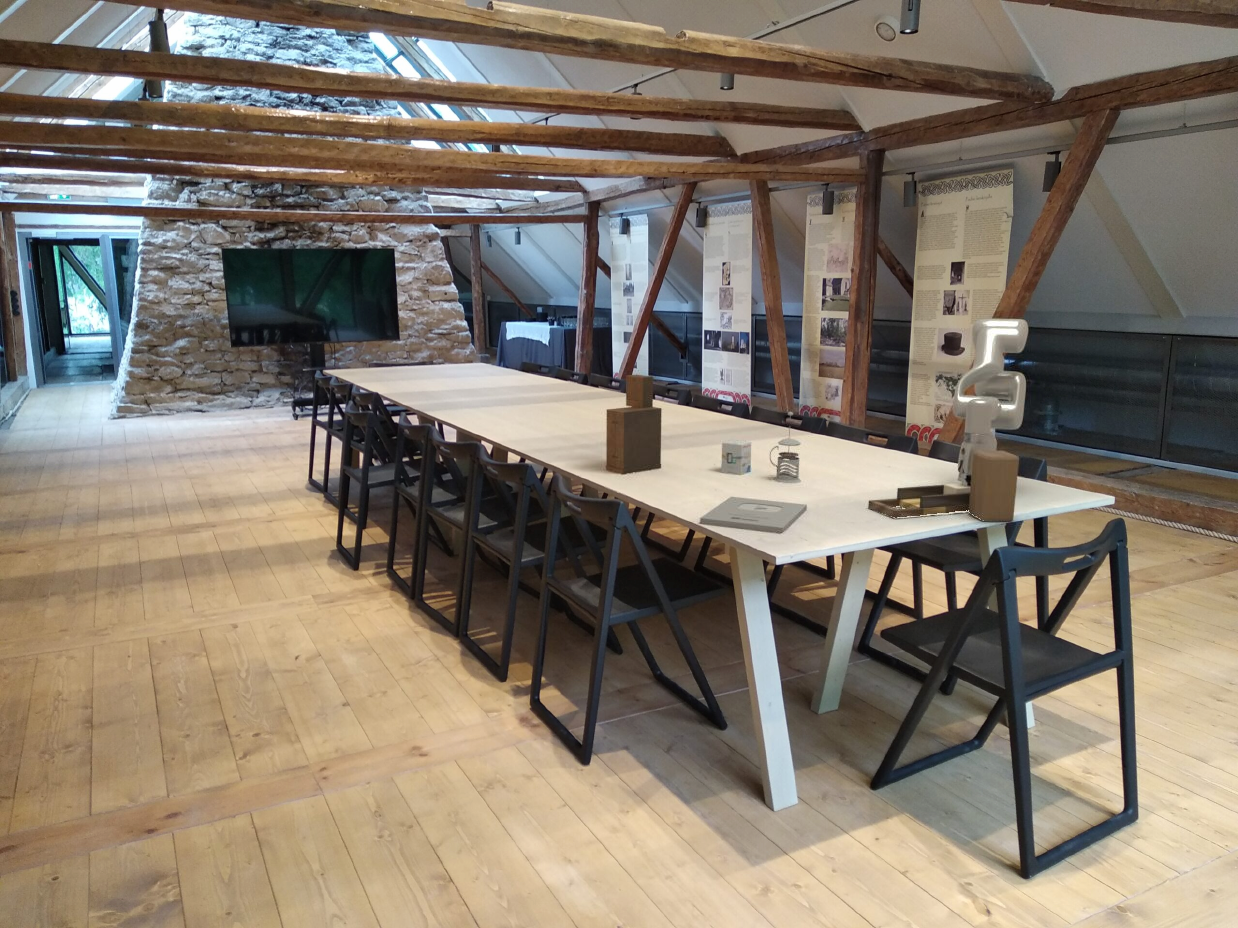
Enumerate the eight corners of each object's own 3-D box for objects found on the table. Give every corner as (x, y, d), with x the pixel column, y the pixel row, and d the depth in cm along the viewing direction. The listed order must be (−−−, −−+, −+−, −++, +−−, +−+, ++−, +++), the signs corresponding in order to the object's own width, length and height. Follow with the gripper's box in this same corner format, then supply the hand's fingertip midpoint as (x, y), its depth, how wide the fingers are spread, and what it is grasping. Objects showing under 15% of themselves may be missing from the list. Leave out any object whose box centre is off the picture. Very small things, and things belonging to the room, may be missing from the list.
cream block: (943, 498, 275) (944, 484, 274) (958, 496, 277) (959, 483, 276) (955, 502, 269) (956, 488, 268) (971, 501, 271) (972, 487, 270)
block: (998, 513, 266) (1004, 449, 262) (1014, 522, 256) (1020, 456, 252) (966, 513, 266) (972, 450, 262) (981, 522, 256) (987, 456, 252)
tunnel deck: (868, 508, 272) (869, 489, 270) (960, 500, 282) (962, 482, 281) (894, 519, 258) (896, 499, 257) (990, 510, 269) (992, 492, 268)
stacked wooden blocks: (637, 462, 343) (638, 374, 336) (661, 468, 332) (662, 377, 325) (599, 468, 331) (599, 377, 324) (623, 474, 320) (623, 380, 313)
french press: (801, 483, 306) (804, 414, 301) (768, 482, 309) (771, 413, 304) (801, 478, 316) (804, 410, 311) (769, 476, 318) (771, 409, 313)
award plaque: (699, 525, 253) (700, 517, 252) (730, 502, 279) (731, 496, 279) (782, 535, 243) (782, 527, 242) (806, 511, 269) (806, 504, 269)
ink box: (731, 469, 331) (731, 439, 329) (751, 471, 327) (752, 441, 324) (720, 472, 325) (721, 442, 322) (741, 475, 320) (742, 444, 318)
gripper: (965, 441, 265) (960, 499, 268) (1004, 439, 269) (999, 496, 273) (949, 437, 272) (944, 494, 275) (987, 435, 276) (982, 491, 280)
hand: (971, 495), depth 274 cm, fingers closed
